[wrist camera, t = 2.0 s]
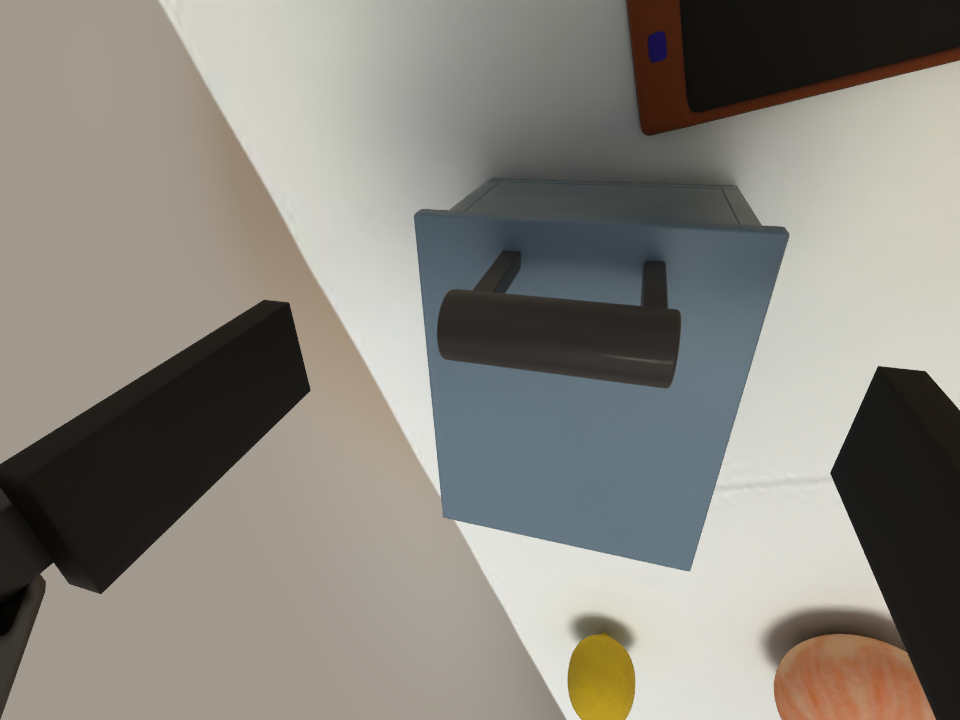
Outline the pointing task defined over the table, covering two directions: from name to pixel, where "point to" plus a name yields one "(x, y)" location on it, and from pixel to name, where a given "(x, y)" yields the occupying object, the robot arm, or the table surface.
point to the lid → (589, 370)
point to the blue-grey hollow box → (612, 201)
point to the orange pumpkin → (848, 681)
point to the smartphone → (775, 51)
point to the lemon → (601, 679)
